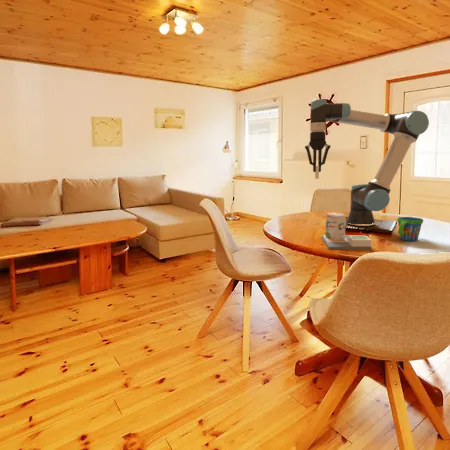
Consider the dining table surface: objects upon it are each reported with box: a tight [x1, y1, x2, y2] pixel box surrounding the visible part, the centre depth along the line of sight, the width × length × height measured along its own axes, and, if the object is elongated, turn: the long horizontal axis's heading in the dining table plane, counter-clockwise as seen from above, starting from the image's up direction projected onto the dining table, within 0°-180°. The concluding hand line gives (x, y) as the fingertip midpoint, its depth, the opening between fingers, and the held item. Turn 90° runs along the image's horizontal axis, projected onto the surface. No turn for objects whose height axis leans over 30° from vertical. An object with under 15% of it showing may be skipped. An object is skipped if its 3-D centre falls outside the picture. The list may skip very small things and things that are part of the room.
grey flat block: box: [320, 234, 372, 250], centre depth 166 cm, size 18×21×4 cm
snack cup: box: [396, 216, 424, 242], centre depth 169 cm, size 16×10×10 cm
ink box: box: [325, 211, 347, 240], centre depth 170 cm, size 8×5×12 cm, turn 24°
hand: (316, 178), depth 186 cm, fingers closed
